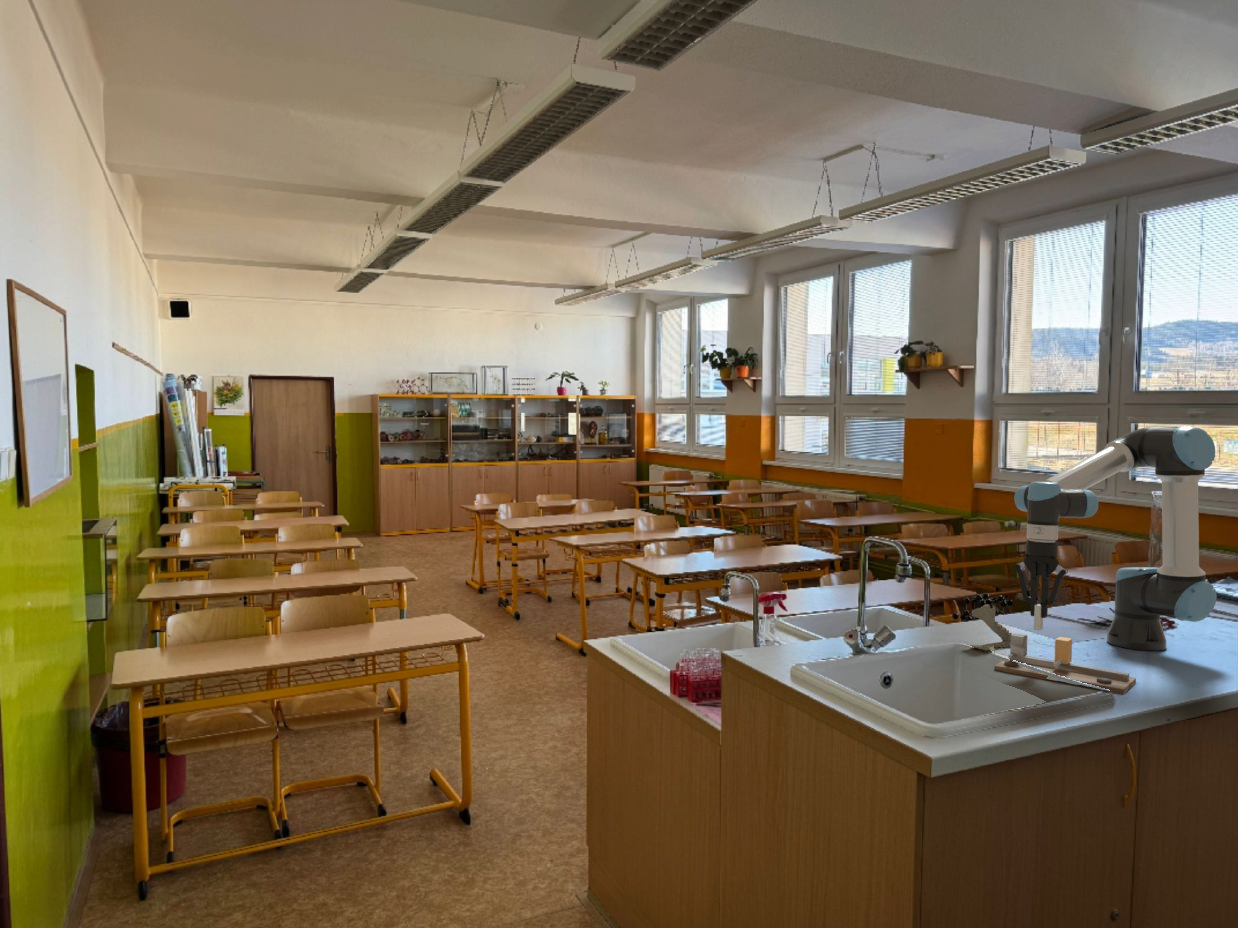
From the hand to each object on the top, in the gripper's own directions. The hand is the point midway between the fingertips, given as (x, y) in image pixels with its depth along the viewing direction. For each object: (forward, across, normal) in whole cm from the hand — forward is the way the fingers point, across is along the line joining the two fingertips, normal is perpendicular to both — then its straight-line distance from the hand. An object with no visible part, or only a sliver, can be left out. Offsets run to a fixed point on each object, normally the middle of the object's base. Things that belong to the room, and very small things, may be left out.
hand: (1038, 629), depth 229 cm
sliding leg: (+8, +6, -2) cm, 11 cm away
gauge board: (+11, +7, -3) cm, 13 cm away
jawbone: (+11, -17, +16) cm, 26 cm away
